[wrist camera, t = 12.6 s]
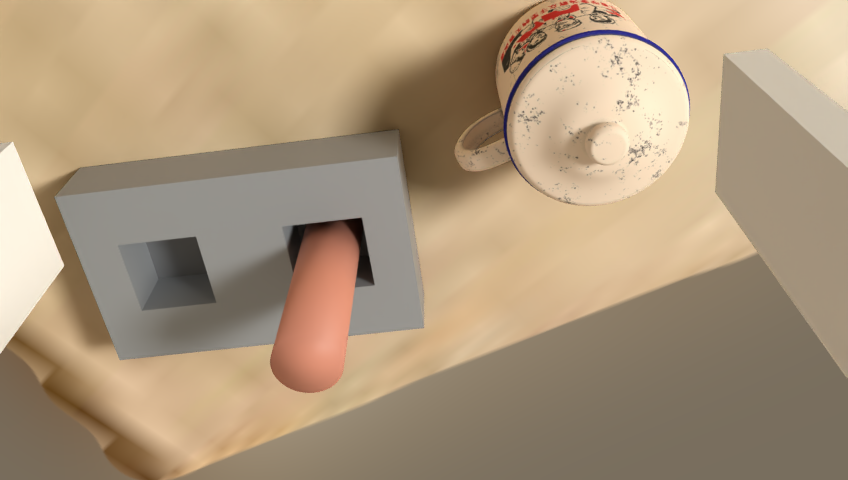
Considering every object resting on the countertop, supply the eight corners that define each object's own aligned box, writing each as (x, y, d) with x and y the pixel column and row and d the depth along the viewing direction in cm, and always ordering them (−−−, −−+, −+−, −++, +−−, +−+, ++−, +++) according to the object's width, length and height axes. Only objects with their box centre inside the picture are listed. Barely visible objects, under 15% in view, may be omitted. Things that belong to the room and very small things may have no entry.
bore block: (79, 167, 50) (54, 197, 46) (398, 129, 49) (396, 156, 45) (138, 323, 56) (119, 360, 52) (424, 292, 55) (424, 327, 51)
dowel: (301, 205, 51) (262, 339, 39) (357, 199, 51) (336, 331, 38) (312, 254, 53) (279, 395, 40) (367, 247, 52) (349, 388, 40)
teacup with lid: (615, -42, 44) (674, 13, 34) (668, 100, 48) (734, 187, 38) (419, 56, 46) (418, 134, 36) (485, 183, 50) (501, 284, 40)
